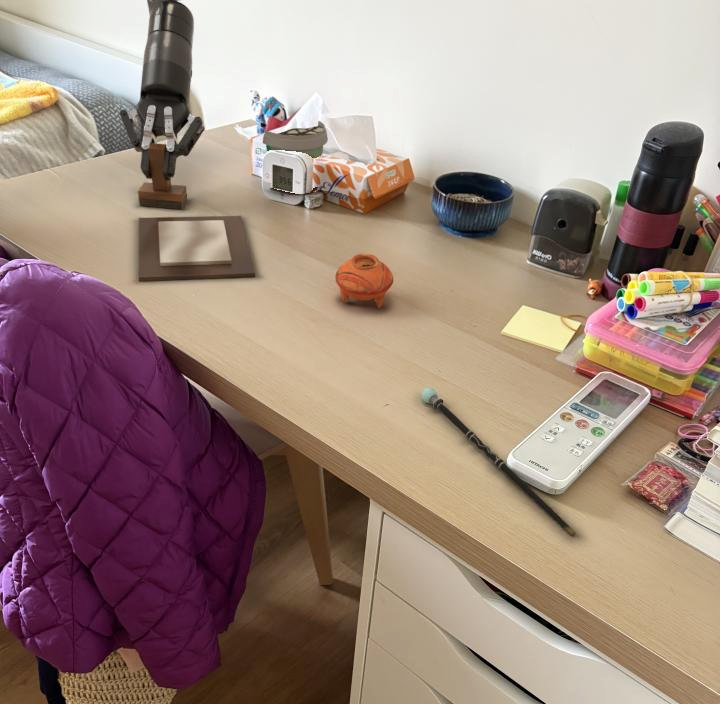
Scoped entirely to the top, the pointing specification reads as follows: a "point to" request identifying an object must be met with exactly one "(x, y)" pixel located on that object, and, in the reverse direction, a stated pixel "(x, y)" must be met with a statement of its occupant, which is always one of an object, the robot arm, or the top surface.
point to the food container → (298, 143)
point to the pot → (364, 278)
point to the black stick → (490, 454)
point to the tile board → (193, 248)
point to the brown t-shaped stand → (161, 184)
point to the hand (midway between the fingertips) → (157, 177)
